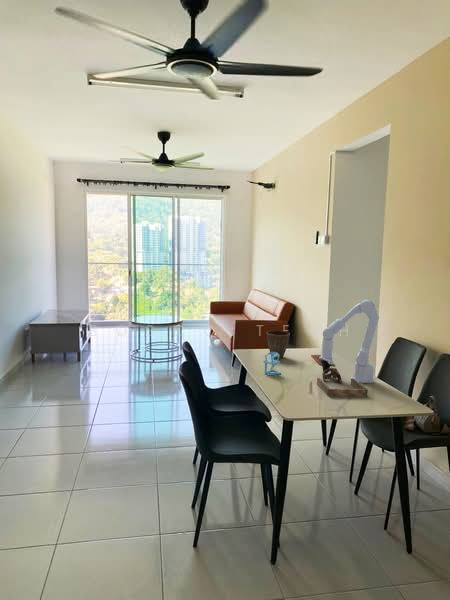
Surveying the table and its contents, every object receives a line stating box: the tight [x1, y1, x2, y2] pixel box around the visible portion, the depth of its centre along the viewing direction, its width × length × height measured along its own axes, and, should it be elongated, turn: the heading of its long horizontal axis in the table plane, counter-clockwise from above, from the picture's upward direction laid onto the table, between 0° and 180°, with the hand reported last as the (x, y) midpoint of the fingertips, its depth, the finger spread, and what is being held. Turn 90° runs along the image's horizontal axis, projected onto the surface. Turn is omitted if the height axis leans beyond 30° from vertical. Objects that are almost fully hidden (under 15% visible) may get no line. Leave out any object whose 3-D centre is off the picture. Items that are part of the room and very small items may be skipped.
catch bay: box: [316, 377, 369, 398], centre depth 202 cm, size 19×17×4 cm
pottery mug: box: [321, 367, 343, 384], centre depth 217 cm, size 12×10×8 cm
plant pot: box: [266, 330, 291, 359], centre depth 260 cm, size 15×15×16 cm
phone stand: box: [263, 351, 282, 376], centre depth 225 cm, size 8×8×12 cm
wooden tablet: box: [310, 354, 336, 367], centre depth 258 cm, size 27×10×2 cm, turn 2°
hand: (325, 373), depth 225 cm, fingers closed
